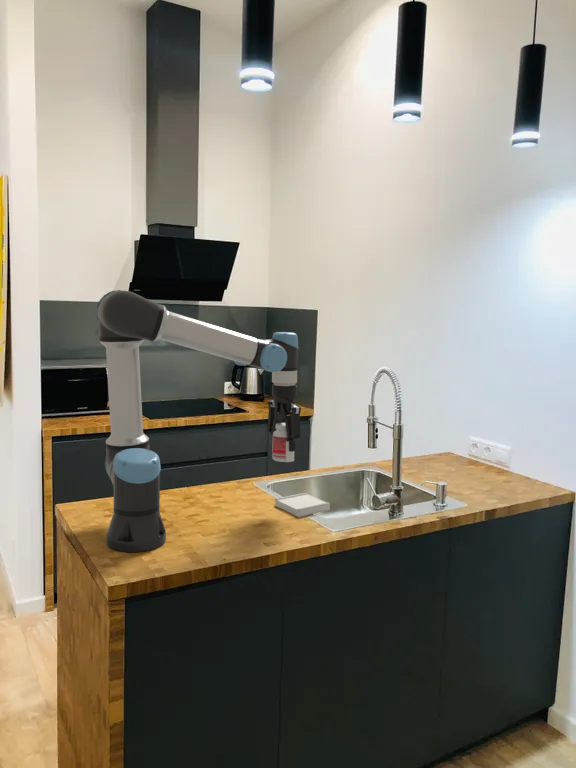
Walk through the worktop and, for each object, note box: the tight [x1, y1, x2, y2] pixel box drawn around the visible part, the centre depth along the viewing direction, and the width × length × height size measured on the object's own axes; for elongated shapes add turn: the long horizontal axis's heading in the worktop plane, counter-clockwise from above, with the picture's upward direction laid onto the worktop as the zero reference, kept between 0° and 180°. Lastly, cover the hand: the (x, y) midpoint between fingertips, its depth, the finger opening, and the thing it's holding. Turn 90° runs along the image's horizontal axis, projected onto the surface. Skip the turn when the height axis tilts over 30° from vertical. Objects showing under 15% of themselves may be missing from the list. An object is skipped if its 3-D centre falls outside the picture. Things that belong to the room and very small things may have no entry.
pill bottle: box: [271, 422, 292, 463], centre depth 193 cm, size 6×6×11 cm
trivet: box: [274, 492, 331, 518], centre depth 197 cm, size 12×12×2 cm
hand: (283, 458), depth 194 cm, fingers closed on pill bottle, 6 cm apart
